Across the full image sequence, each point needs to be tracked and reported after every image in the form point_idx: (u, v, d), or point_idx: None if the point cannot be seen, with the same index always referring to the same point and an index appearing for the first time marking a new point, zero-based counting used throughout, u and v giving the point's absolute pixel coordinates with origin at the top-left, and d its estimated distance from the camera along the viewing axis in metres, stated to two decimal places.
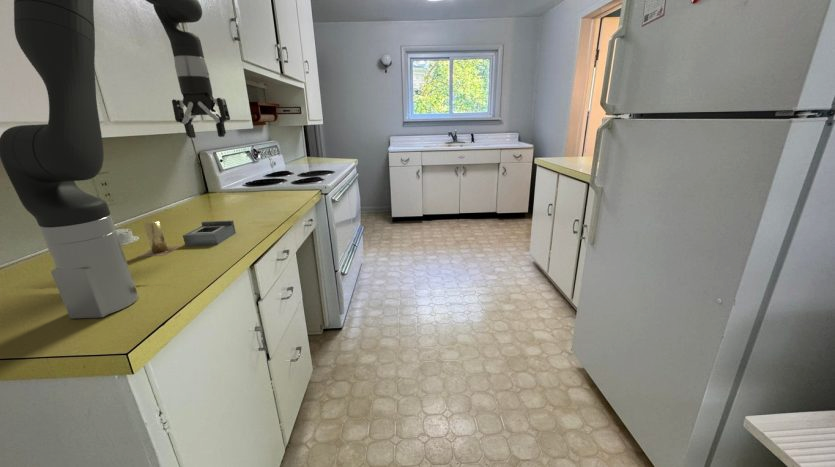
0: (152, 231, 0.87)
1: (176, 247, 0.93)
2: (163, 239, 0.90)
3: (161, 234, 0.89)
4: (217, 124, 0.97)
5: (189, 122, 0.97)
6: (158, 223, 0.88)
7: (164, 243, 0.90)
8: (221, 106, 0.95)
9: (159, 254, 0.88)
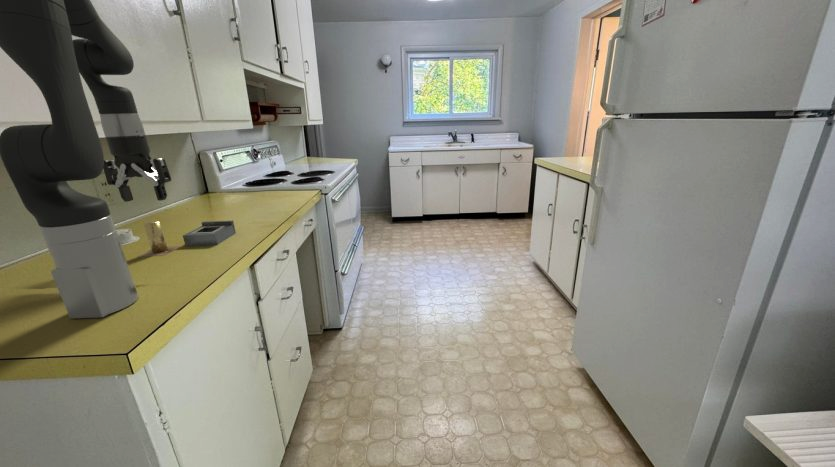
0: (152, 231, 0.87)
1: (176, 247, 0.93)
2: (163, 239, 0.90)
3: (161, 234, 0.89)
4: (155, 187, 0.84)
5: (124, 184, 0.85)
6: (158, 223, 0.88)
7: (164, 243, 0.90)
8: (159, 168, 0.83)
9: (159, 254, 0.88)
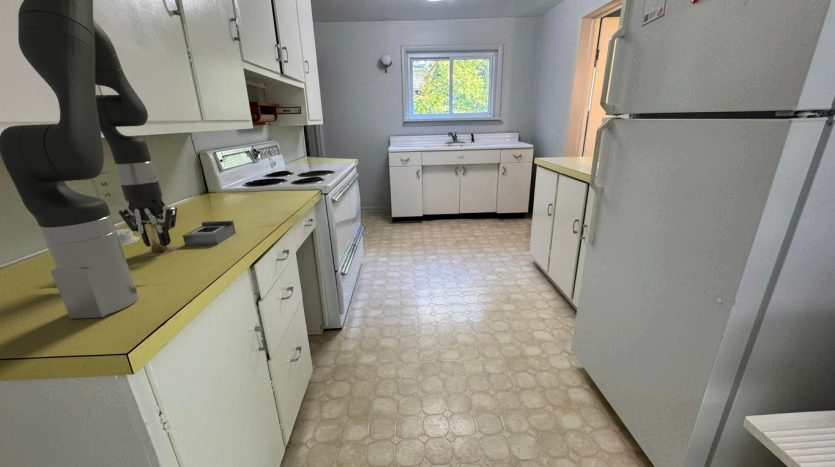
0: (152, 231, 0.87)
1: (176, 247, 0.93)
2: None
3: None
4: (160, 234, 0.88)
5: None
6: None
7: None
8: (168, 217, 0.87)
9: (159, 254, 0.88)
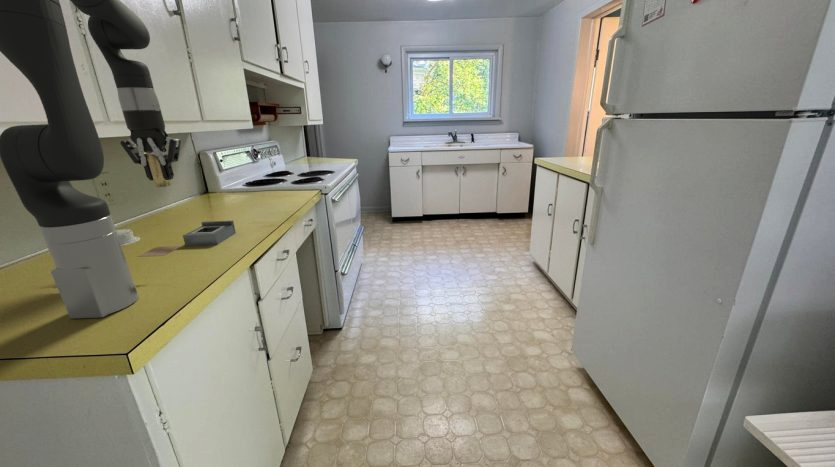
0: (155, 163, 0.85)
1: (176, 247, 0.93)
2: None
3: None
4: (163, 166, 0.86)
5: None
6: None
7: None
8: (172, 148, 0.84)
9: (159, 254, 0.88)
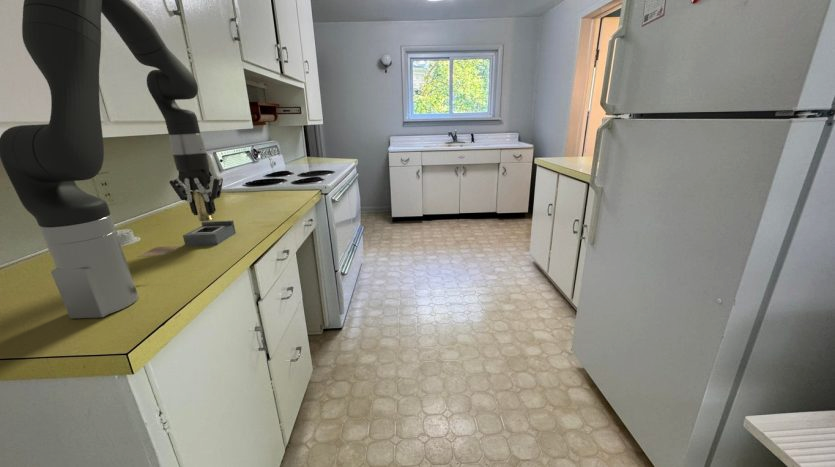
0: (200, 200, 0.93)
1: (176, 247, 0.93)
2: None
3: None
4: (207, 203, 0.94)
5: None
6: None
7: None
8: (215, 187, 0.92)
9: (159, 254, 0.88)
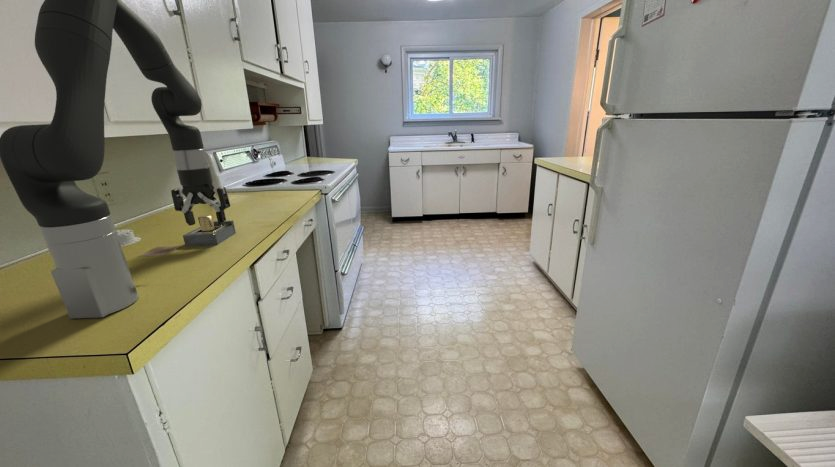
0: (206, 224, 0.95)
1: (176, 247, 0.93)
2: None
3: (213, 227, 0.97)
4: (217, 213, 0.95)
5: (189, 210, 0.96)
6: (211, 217, 0.96)
7: None
8: (221, 196, 0.93)
9: (159, 254, 0.88)
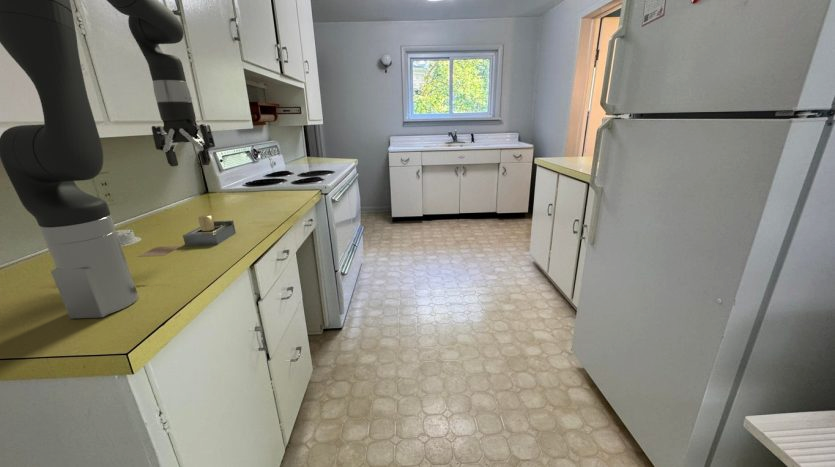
0: (206, 224, 0.95)
1: (176, 247, 0.93)
2: None
3: (213, 227, 0.97)
4: (201, 152, 0.89)
5: (171, 150, 0.90)
6: (211, 217, 0.96)
7: None
8: (205, 133, 0.88)
9: (159, 254, 0.88)
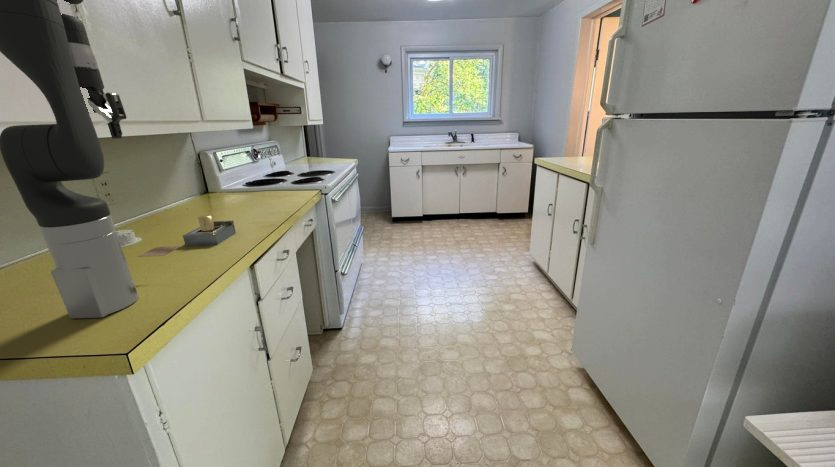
0: (206, 224, 0.95)
1: (176, 247, 0.93)
2: None
3: (213, 227, 0.97)
4: (109, 124, 0.82)
5: None
6: (211, 217, 0.96)
7: None
8: (112, 102, 0.81)
9: (159, 254, 0.88)
